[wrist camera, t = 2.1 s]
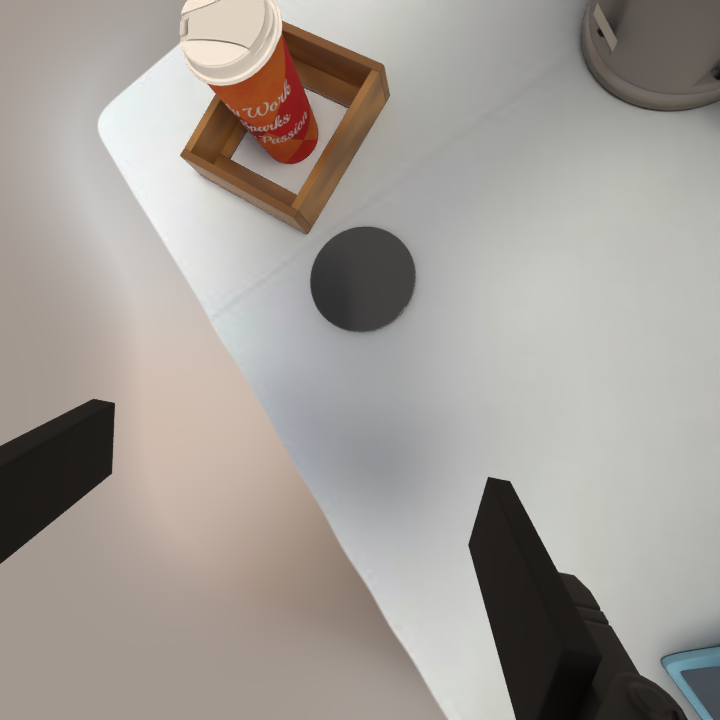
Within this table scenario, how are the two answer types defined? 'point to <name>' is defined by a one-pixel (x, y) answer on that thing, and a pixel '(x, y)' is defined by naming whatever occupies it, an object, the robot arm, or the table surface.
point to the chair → (692, 661)
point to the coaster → (363, 279)
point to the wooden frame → (365, 101)
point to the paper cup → (250, 71)
